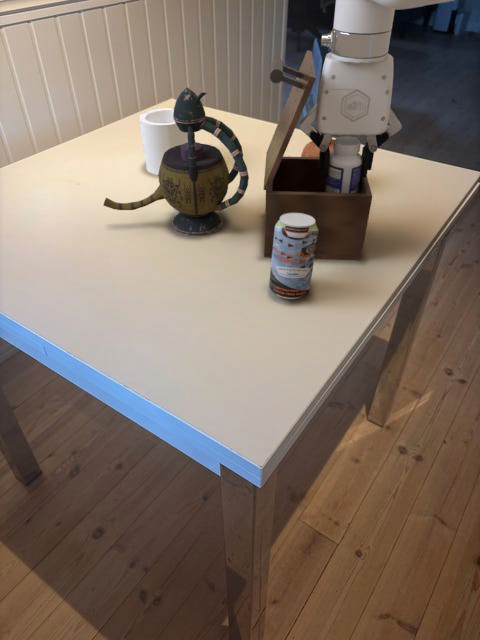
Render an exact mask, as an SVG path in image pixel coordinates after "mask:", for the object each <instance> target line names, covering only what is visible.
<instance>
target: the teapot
mask: <svg viewBox="0 0 480 640" xmlns="http://www.w3.org/2000/svg"><path fill="white" fill-rule="evenodd" d="M206 95H208V93H207V92H204V91H203V92H202V91H201V92H200V93H199V94H198V95H197V94H196V92H194V91H193V90H192V89H190V88H189V87H186V88H185V89H184V90H183V91H181V92H180V94H179V95H178V97H177V98H176V100H175V103H174V107H173V109H174V112H173V120H174V121H175V123H176V125H177V126H178V128H179V130H180V131H182V132H185V133H188V134H187V136H188V143H184V144H182V145H178V146H175V147H172V148H170V149H168V150H167V151H166V152H165V153H164V155H163V158H162V161H161V165H160V168H159V174H158V175H157V176H158V183H159V185H158V186H157V188H156V189H155V191H154V192H152V193H151V194H150V195H149V196H147V197H145V198H144V199H141V200H138V201H132V202H127V203H126V202H116V201H113V200H112V199H110V198H108V197H105V199H104V202H103V206H104V207H106V208H109V209H112V210H117V211H135V210H138V209H140V208H145V207H147V206H149V205H150V204H153V203H155V202H157V201H161V200H166V202H167V203H168V204H169V206H170V207H171V208H173V209H175V210H176V211H178V213H177V214H176V215H174V217H173V219H172V223H171V224H172V227H173V229H174V230H175V231H176V232H178V233H180V234H182V235H186V236H190V237H200V236H206V235H210V234H212V233H215V232H216V231H218V230H219V229H220V228H221V227H222V225H223V217H222V215H221V214H220V213H218V212H222V211H224V210H226V209H228V208H230V207H232V206H235V205H237V204H239V202H240V201H241V200H242V199H243V197H244V195H245V193H246V191H247V189H248V187H249V186H248V185H249V179H250V176H249V172H248V166H247V164H246V162H245V160H244V153H243V152H244V151H243V147H242V144H241V142H240V140H239V138H238V137H237V135H236V134H235V132H234V131H233V130H232V129H231V128H230V127H229V126H228V125H226V124H225V123H224V122H223V121H222V120H219V119H217V118H215V117H212V116H207V115H206V111H205V107H204V105H203V103H202V101H201V99H202V98H203V97H204V96H206ZM202 130H203V131H204V132H207V133H210V134H211V135H212V136H213V137H215V138H216V139H218V140H219V141H220V142H221V144H223V146H224V147H225V148H226V149H227V150H228V152H229V153H230V155H231V157H232V159H233V160H234V163H233V166H232V168H231V170H230V171H229V167H228V164H227V162H226V160H225V158H224V155H223V153H222V152H221V150H220V149H219V148H218V147H216V146H213V145H212V144H211V145H210V144H207V143H201V142H197V141H196V134H195V133H197V132H200V131H202ZM238 175H239V184H238V187H237V189H236V192H235V193H234V194H233V195H232V197H230V198H228V199H226V200H224V199H225V198H226V196H227V194H228V189H229V185H230V184H231V183H232V182H234V180H235V179H236V177H237V176H238Z"/></svg>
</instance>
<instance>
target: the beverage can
mask: <svg viewBox="0 0 480 640" xmlns="http://www.w3.org/2000/svg"><path fill="white" fill-rule="evenodd" d="M317 237H318V228H317V226H316V224H315V219H314V218H313V217H311V216H309V215H306V214H302V213H286V214H283V215H281V216H280V220H279V221H278V222H277V223H276V225H275V230H274V240H273V251H272V257H271V261H270V262H271V263H270V271H269V282H268V288H269V290H270V291H271V292H272V293H274V294H275V296H278V297H280V298H282V299H286V300H287V299H288V300H297V299H300V298H302V297H304V296H306V295H307V294H309V292H310V290H311V289H310V288H311V283H312V277H313V269H314V263H315V259H314V257H315V250H316V243H317Z"/></svg>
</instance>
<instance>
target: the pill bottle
mask: <svg viewBox="0 0 480 640" xmlns="http://www.w3.org/2000/svg"><path fill="white" fill-rule="evenodd" d="M361 144H362V142H361V140H360V139H359V138H357V137H354V136H349V135H342V136H339V137H336V138H335V140H334V146H333V148H334V151H335V152H333V153H331V154H330V159H329V168H328V176H327V177H326V188H325V192H330V193H358V191H359V184H360V176H361V170H362V162H363V159H362V154H361V153H360V151H361Z"/></svg>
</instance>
